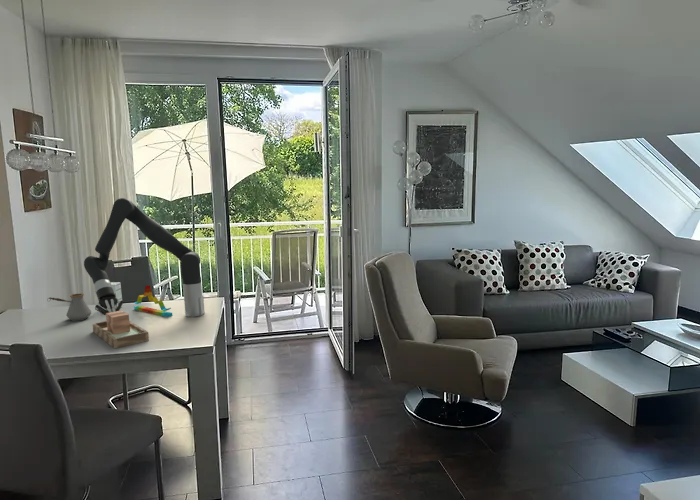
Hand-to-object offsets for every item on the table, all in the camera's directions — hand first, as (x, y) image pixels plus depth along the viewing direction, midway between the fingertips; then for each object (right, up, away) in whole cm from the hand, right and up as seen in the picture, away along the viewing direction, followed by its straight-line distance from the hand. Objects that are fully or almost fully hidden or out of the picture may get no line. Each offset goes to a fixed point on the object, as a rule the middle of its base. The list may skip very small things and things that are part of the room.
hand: (114, 320), depth 232 cm
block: (+4, -4, -4) cm, 7 cm away
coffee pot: (-34, -4, +23) cm, 41 cm away
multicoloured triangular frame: (+4, -1, +37) cm, 37 cm away
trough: (+4, -7, -4) cm, 9 cm away
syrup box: (-22, 0, +48) cm, 53 cm away
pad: (+8, -7, -7) cm, 13 cm away
